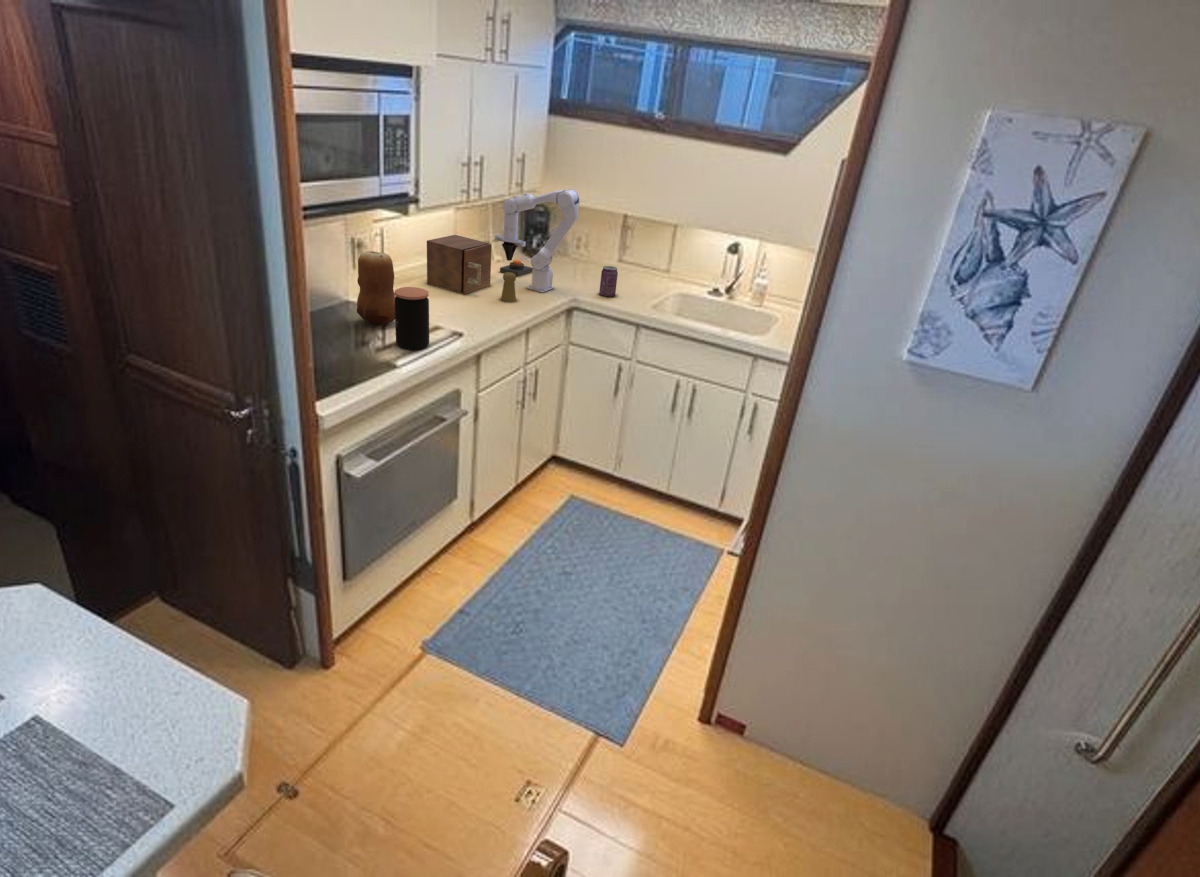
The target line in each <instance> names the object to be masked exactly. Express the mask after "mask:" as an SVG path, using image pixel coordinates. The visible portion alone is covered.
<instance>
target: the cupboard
mask: <svg viewBox="0 0 1200 877" xmlns="http://www.w3.org/2000/svg"><path fill="white" fill-rule="evenodd" d="M487 244H490V243H489V242H486V241H483V240H478V239H474V238H470V237H466V236H462V235H459V234H452V235H447V236H442V237H438V238H432V239H428V240H426V284H427V285H429V286H434V287H438V288H440V289H444V290H447V291H451V292H454V293H458V294H463V289H464V251H465V250H468V249H472V248H476V247H480V246H483V245H487Z"/></svg>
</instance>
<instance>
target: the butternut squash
mask: <svg viewBox="0 0 1200 877" xmlns="http://www.w3.org/2000/svg"><path fill="white" fill-rule="evenodd" d="M357 275H358V276H357V284H358V286H359V293H358V296H357V300H356V313H357V314H358V315H359V316H360V317H361V319H362V320H363V321H365V322H367V323H369V324H374V325H377V326H387V325H388V324H390V323H392V322H394V321H395V297H396V295H395V294H394V292H395V289H394V283H395V270H394V264H393V260H392V258H391V256H390V254H387V253H385V252H379V251H374V250H365V251H363V252H362V253H360V255H359V256H358V260H357Z"/></svg>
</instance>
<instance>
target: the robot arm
mask: <svg viewBox="0 0 1200 877" xmlns="http://www.w3.org/2000/svg"><path fill="white" fill-rule="evenodd" d="M550 202H552V203H554V204H555V205H558V206H559V208H560V209H561V211H562V214H563V215H562V216H563V218H561V221H559V223H558V224H557V227H556V228H555V229H554V231H553V232H552V234H551V235H550V236H549V238H548V239H547V241H546V242H545V244H543V247H541V249H540V250H539V251H538V252H537V253H536V254H535V255H533V256H532V257H531V259H530V265H531V268H532V273H531V285H530V286H527V288H526V289H528V290H531V291H535V292H539V293H545V292H548V291H551V290H553V289H555V287H554V286H553V281H554V280H553V279H554V272H553V270H552V269H551V267H550V265H551V264H552V261H553V257H554V255H555V251H557V249H558V248H559V246H560V245H561V243H562V242H563V240H564V239H565V238H566V236H567V234H568V233H569V231H570V230H571V229H572V227H573V226H574V225H575V223H576V222H577V220H578V217H579V208H580V202H581V200H580V196H579V193H578V192H577V190H575V189H573V188H570V189H567V190H566V189H560V190H559V189H558V190H552V191H550V192H546V193H543V194H539V195H535V196H534V195H533V194H532V193H528V192H526V193H524V194H523V195H520V196H513V197H511V198H508V199H506V200H504V201H503V203H502V210H503V212H504V220H503V221H504V222H503V235H499V234H496V235H494V241H499V242H502V243H501V246H502V248H503V250H504V254H505V258H506V261H509V262H510V261H511V262H512V261H513V257H514V255H515V252H516V250H517V248H518V247H519V246H520V247H522V248H524V247H526V246H527V245H526V244H527V242H526V241H524V240H521V239H519V238H518V230H519V229H518V228H519V212H524V211H528V210H533V209H534V208H535V207H536V205H540V204H544V203H550Z"/></svg>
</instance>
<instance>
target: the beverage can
mask: <svg viewBox="0 0 1200 877" xmlns="http://www.w3.org/2000/svg"><path fill="white" fill-rule="evenodd" d="M618 272H619V271H618V268H617V267H615V266H612V265H604V266H603V267H602V270H601V274H600V282H599V292H598V293H599V294H600V295H601V296H604V297H613V296H616V293H617V292H616V291H617V285H618V284H617V283H618V276H619V275H618V274H619V273H618Z"/></svg>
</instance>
